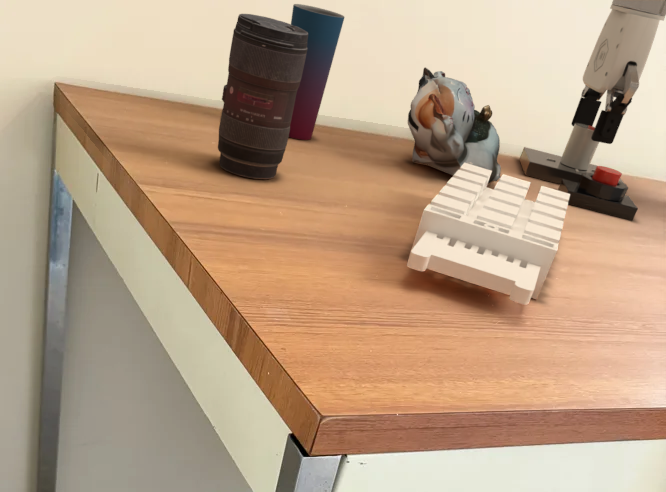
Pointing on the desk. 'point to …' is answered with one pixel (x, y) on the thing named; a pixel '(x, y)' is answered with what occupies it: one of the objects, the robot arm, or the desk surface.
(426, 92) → the lucky cat figurine
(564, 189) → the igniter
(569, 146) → the hob knob
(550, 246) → the organizer
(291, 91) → the camera lens
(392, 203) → the desk surface
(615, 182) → the button
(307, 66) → the cup
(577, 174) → the hob console
